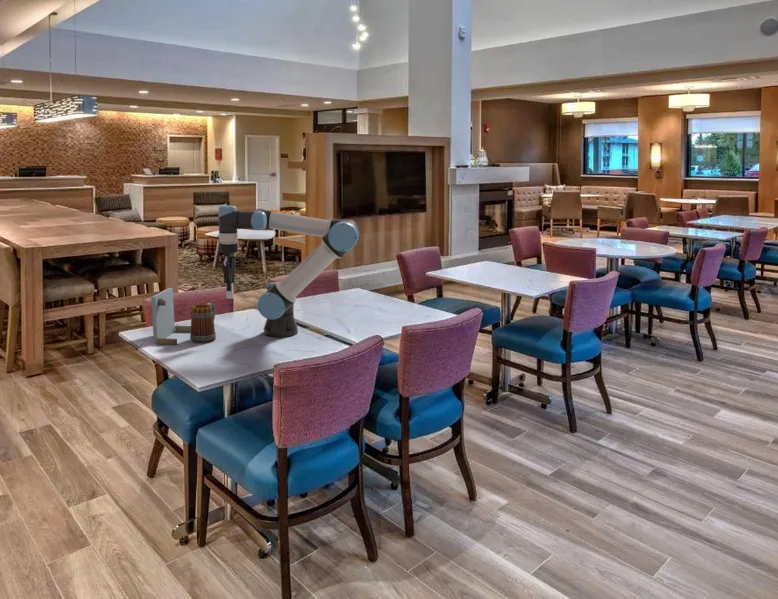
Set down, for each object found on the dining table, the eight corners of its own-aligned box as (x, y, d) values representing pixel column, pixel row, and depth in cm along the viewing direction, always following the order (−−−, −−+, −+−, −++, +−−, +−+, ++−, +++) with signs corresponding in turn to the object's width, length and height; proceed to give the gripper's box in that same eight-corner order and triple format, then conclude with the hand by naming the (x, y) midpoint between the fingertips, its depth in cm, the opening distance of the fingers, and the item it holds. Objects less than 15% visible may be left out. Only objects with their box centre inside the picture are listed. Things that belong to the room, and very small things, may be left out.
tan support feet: (193, 331, 282) (193, 326, 282) (176, 345, 260) (175, 339, 260) (176, 330, 282) (175, 325, 282) (157, 344, 260) (156, 338, 260)
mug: (208, 344, 263) (207, 309, 260) (185, 342, 265) (184, 307, 262) (225, 335, 278) (224, 302, 275) (203, 333, 280) (202, 300, 277)
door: (180, 331, 281) (178, 287, 277) (163, 344, 262) (160, 297, 257) (171, 331, 281) (169, 287, 277) (153, 343, 262) (151, 296, 258)
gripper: (223, 240, 269) (225, 294, 274) (214, 244, 256) (216, 301, 261) (241, 241, 269) (242, 295, 273) (233, 245, 256) (234, 301, 261)
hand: (229, 298), depth 267 cm, fingers closed
